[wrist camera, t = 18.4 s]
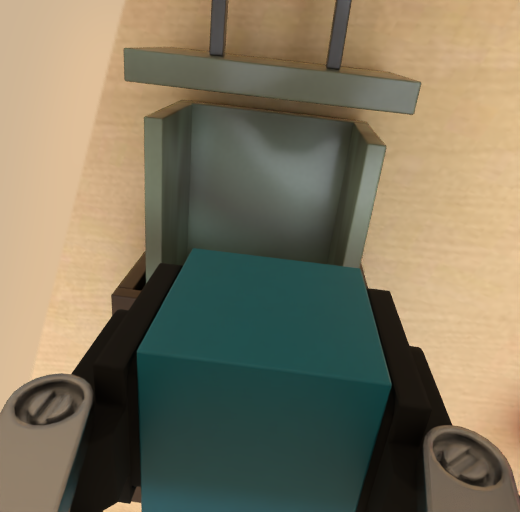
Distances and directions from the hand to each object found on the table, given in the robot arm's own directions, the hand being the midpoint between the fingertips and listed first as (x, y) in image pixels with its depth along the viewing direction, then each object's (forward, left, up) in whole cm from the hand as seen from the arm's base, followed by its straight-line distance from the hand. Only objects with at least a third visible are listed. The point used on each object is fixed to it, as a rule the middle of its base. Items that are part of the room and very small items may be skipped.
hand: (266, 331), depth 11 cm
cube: (0, 0, 0) cm, 0 cm away
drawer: (-2, -1, -16) cm, 16 cm away
